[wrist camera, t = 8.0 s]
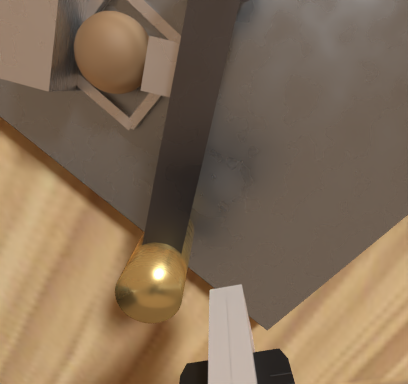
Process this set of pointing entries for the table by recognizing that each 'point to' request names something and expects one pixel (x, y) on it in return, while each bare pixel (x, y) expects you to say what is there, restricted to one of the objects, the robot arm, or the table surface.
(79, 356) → the table surface
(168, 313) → the lever
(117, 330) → the table surface
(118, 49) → the tan wooden ball
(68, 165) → the bench plate
